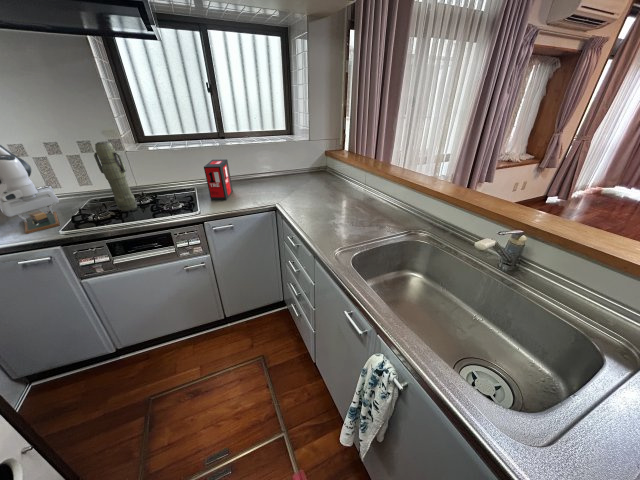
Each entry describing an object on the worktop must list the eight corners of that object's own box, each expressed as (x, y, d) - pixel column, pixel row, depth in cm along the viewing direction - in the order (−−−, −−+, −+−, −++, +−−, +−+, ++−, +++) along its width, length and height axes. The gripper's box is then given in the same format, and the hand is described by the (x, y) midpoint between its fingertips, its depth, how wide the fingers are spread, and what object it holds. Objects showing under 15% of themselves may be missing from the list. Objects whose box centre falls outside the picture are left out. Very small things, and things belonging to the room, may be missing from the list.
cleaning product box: (226, 200, 158) (219, 166, 148) (211, 200, 157) (203, 166, 147) (232, 190, 172) (227, 159, 162) (218, 191, 172) (212, 159, 162)
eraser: (33, 221, 132) (28, 213, 130) (43, 218, 135) (38, 210, 133) (39, 223, 129) (34, 216, 127) (49, 220, 132) (44, 212, 130)
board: (25, 220, 135) (23, 218, 135) (56, 213, 143) (55, 211, 142) (26, 233, 123) (24, 231, 122) (60, 225, 130) (58, 223, 130)
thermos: (137, 210, 146) (112, 143, 128) (113, 212, 144) (84, 144, 126) (142, 204, 153) (119, 140, 136) (119, 206, 151) (93, 141, 133)
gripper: (47, 183, 134) (60, 208, 141) (-10, 197, 118) (9, 224, 125) (53, 185, 131) (67, 210, 138) (-3, 199, 115) (15, 227, 122)
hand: (39, 217), depth 131 cm, fingers open, 8 cm apart
